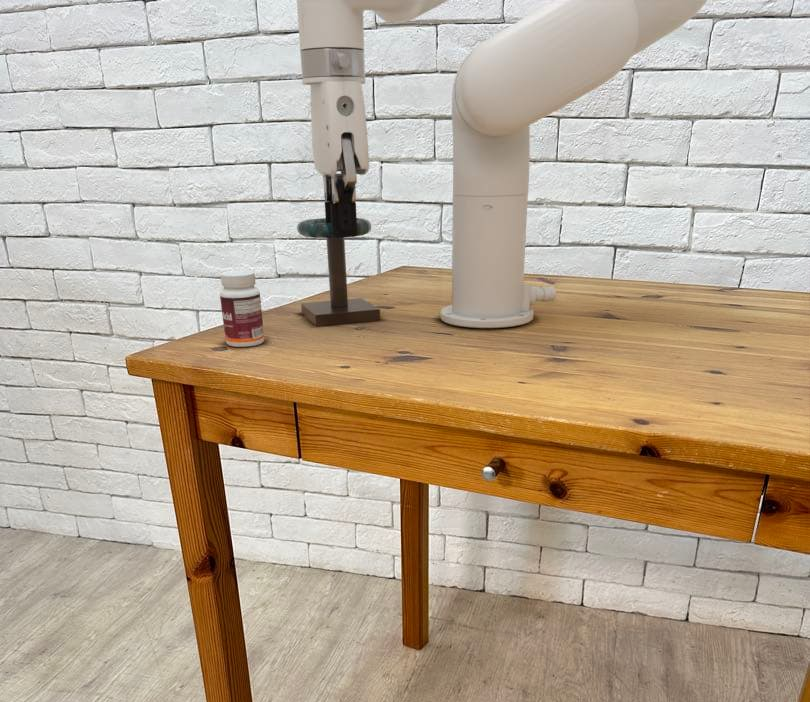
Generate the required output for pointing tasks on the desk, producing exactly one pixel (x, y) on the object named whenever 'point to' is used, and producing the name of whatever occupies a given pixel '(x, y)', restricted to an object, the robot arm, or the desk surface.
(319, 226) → the ring
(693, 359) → the desk surface
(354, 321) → the post
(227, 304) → the pill bottle
